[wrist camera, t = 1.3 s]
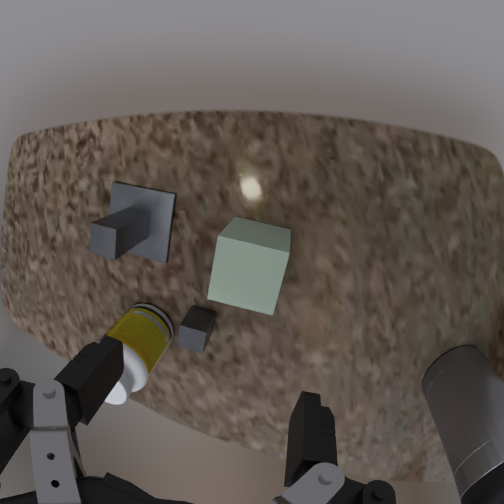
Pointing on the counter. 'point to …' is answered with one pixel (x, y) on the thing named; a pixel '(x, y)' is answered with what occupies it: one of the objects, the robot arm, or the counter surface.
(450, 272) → the counter surface
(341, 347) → the counter surface
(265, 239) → the pale green block
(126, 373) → the pill bottle
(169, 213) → the post on square base
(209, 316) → the short post
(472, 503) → the robot arm
